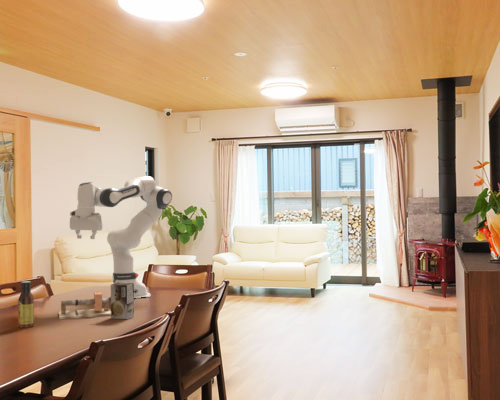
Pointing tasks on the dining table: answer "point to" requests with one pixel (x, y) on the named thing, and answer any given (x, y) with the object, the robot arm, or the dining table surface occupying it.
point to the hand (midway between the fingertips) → (85, 238)
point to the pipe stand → (83, 313)
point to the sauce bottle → (25, 306)
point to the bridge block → (98, 301)
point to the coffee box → (122, 300)
